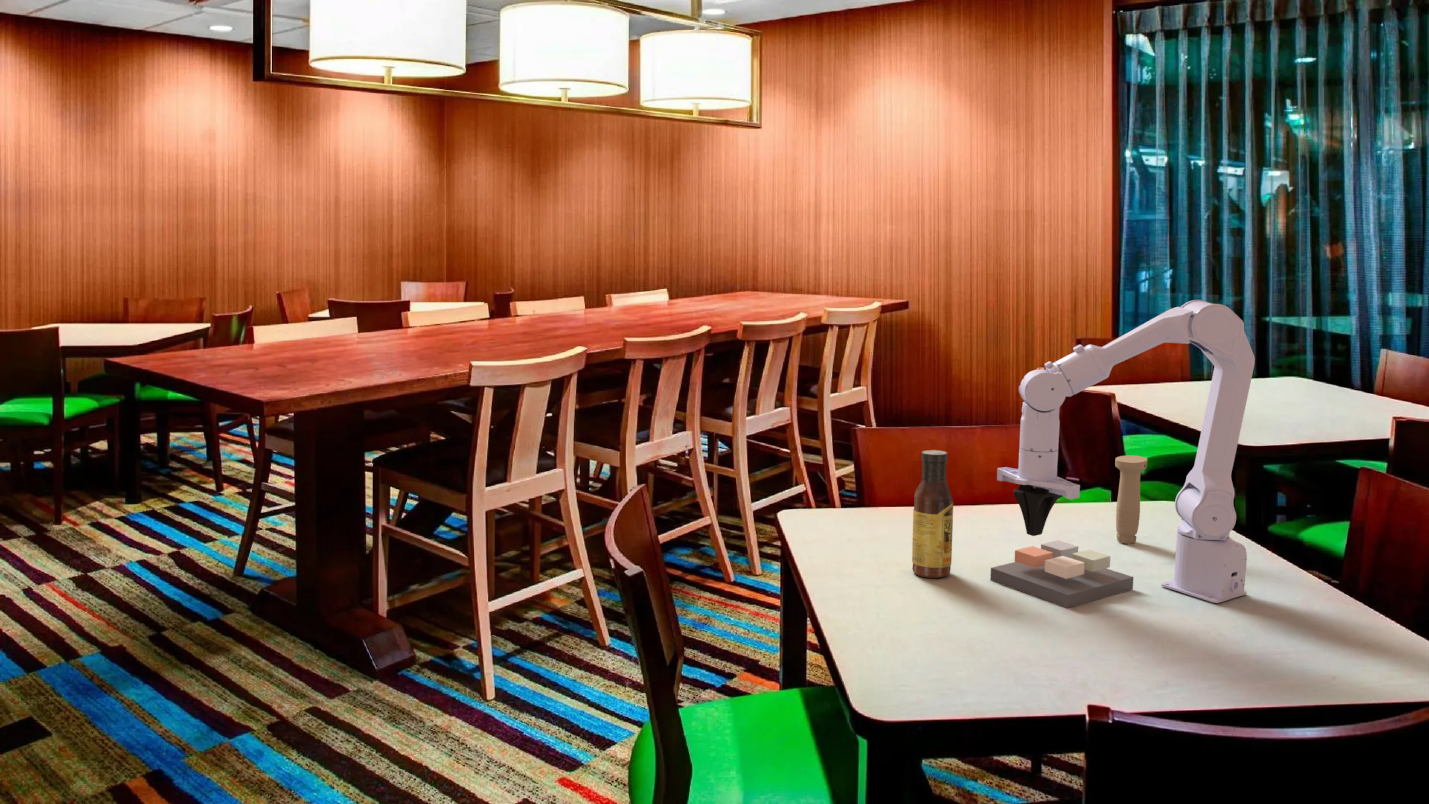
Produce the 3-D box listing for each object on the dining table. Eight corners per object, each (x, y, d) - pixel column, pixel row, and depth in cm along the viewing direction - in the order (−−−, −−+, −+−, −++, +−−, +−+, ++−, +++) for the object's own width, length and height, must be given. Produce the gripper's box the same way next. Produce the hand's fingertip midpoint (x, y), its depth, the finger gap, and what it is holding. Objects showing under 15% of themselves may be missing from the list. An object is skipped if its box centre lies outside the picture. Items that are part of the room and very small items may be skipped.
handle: (1146, 540, 190) (1152, 458, 188) (1132, 548, 185) (1137, 464, 183) (1120, 535, 193) (1125, 454, 191) (1105, 543, 189) (1110, 459, 186)
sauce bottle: (951, 581, 169) (955, 457, 166) (911, 578, 170) (914, 456, 167) (950, 568, 175) (954, 449, 172) (911, 565, 176) (915, 447, 173)
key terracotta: (1052, 563, 167) (1052, 552, 167) (1034, 568, 165) (1035, 556, 164) (1032, 557, 170) (1032, 546, 170) (1014, 561, 168) (1014, 550, 168)
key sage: (1109, 567, 165) (1110, 556, 165) (1092, 571, 163) (1093, 560, 163) (1088, 560, 168) (1088, 549, 168) (1071, 564, 166) (1071, 553, 166)
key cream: (1083, 574, 162) (1084, 562, 162) (1066, 578, 160) (1066, 567, 159) (1062, 567, 165) (1063, 555, 165) (1044, 571, 163) (1045, 560, 163)
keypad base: (1132, 589, 165) (1133, 577, 164) (1067, 608, 157) (1068, 595, 157) (1054, 563, 177) (1055, 552, 177) (990, 579, 169) (990, 567, 169)
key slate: (1077, 557, 170) (1078, 546, 170) (1060, 561, 168) (1061, 550, 168) (1057, 550, 173) (1058, 540, 173) (1040, 555, 171) (1041, 544, 171)
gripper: (984, 443, 168) (981, 526, 171) (1059, 460, 156) (1054, 550, 159) (1016, 438, 172) (1012, 520, 174) (1091, 454, 160) (1085, 542, 162)
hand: (1034, 534), depth 167 cm, fingers closed
